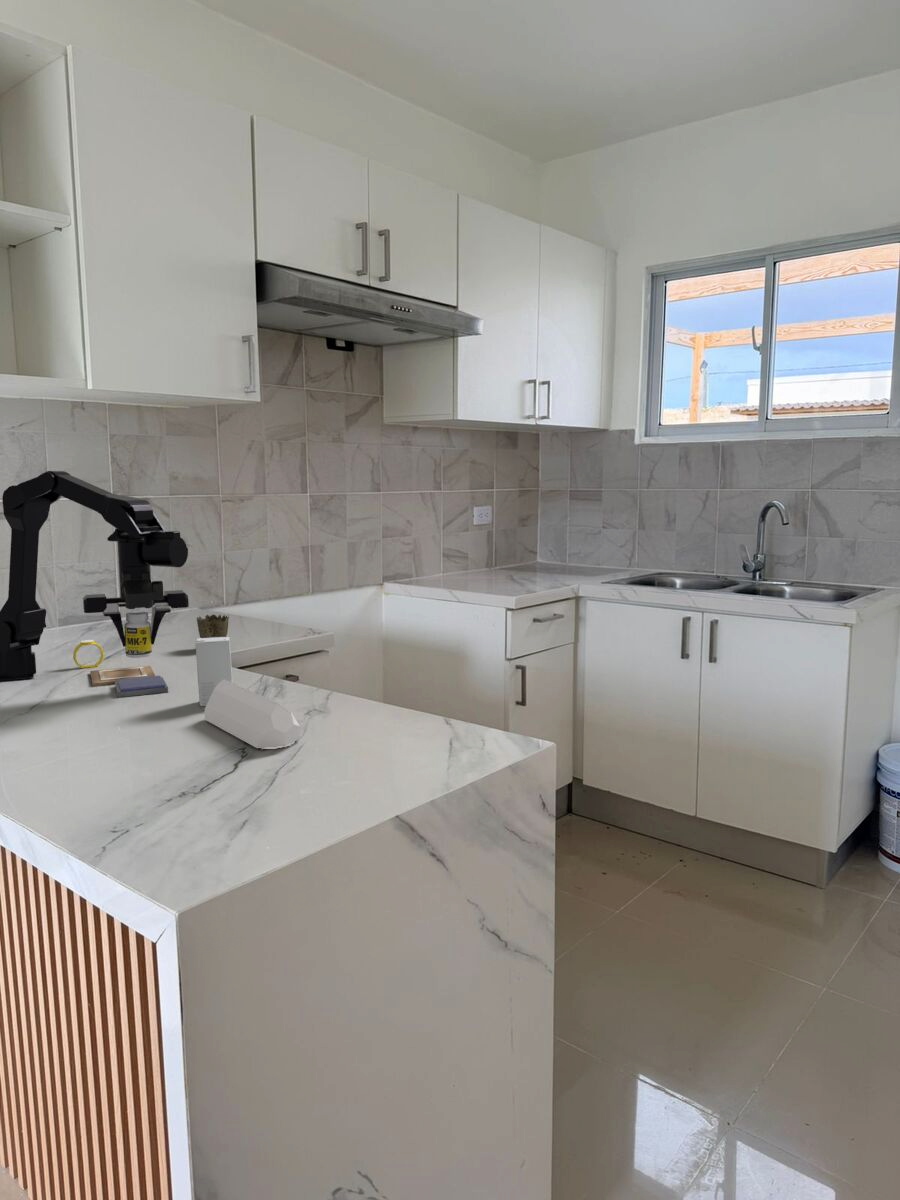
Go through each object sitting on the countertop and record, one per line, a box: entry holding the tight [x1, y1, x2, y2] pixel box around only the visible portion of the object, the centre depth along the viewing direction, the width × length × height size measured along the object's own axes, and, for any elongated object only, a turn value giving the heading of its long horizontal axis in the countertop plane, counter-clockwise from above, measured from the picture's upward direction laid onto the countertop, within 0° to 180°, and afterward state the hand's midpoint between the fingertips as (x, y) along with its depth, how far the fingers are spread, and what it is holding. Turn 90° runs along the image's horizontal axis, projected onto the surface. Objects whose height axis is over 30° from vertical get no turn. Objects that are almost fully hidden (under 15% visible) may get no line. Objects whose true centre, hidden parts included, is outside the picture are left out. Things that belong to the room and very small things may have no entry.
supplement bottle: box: [123, 611, 152, 659], centre depth 162 cm, size 5×5×8 cm
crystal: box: [204, 679, 301, 749], centre depth 136 cm, size 7×7×24 cm
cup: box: [196, 614, 230, 638], centre depth 201 cm, size 8×7×8 cm
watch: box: [72, 639, 105, 669], centre depth 182 cm, size 6×3×6 cm, turn 122°
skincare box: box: [194, 636, 233, 707], centre depth 152 cm, size 6×4×12 cm
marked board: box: [89, 665, 156, 687], centre depth 173 cm, size 12×12×1 cm
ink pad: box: [114, 675, 169, 698], centre depth 163 cm, size 9×9×2 cm
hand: (138, 645), depth 162 cm, fingers closed on supplement bottle, 5 cm apart
